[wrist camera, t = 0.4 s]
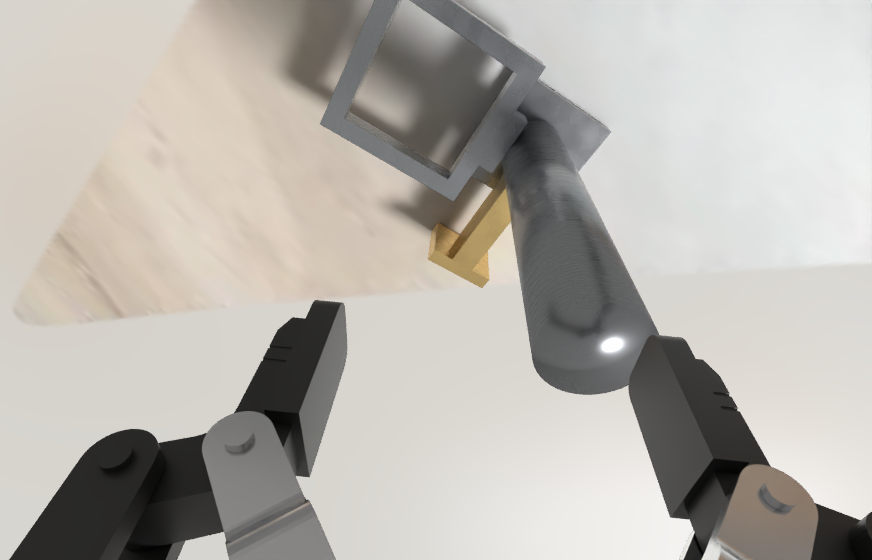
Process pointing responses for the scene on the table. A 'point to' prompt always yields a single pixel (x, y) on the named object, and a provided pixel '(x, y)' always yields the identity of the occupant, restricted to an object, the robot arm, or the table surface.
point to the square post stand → (521, 206)
